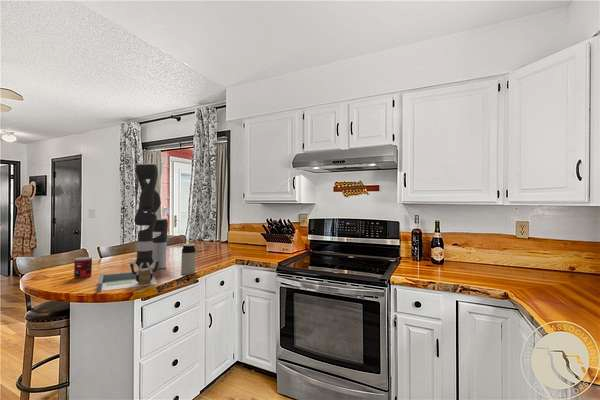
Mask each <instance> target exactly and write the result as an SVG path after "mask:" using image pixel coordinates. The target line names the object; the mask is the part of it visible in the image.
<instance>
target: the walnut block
mask: <svg viewBox="0 0 600 400" xmlns="http://www.w3.org/2000/svg"><path fill="white" fill-rule="evenodd" d="M144 284H150V271H149V269H148V268H144V269H141V271H140V272H139V285H144Z"/></svg>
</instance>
